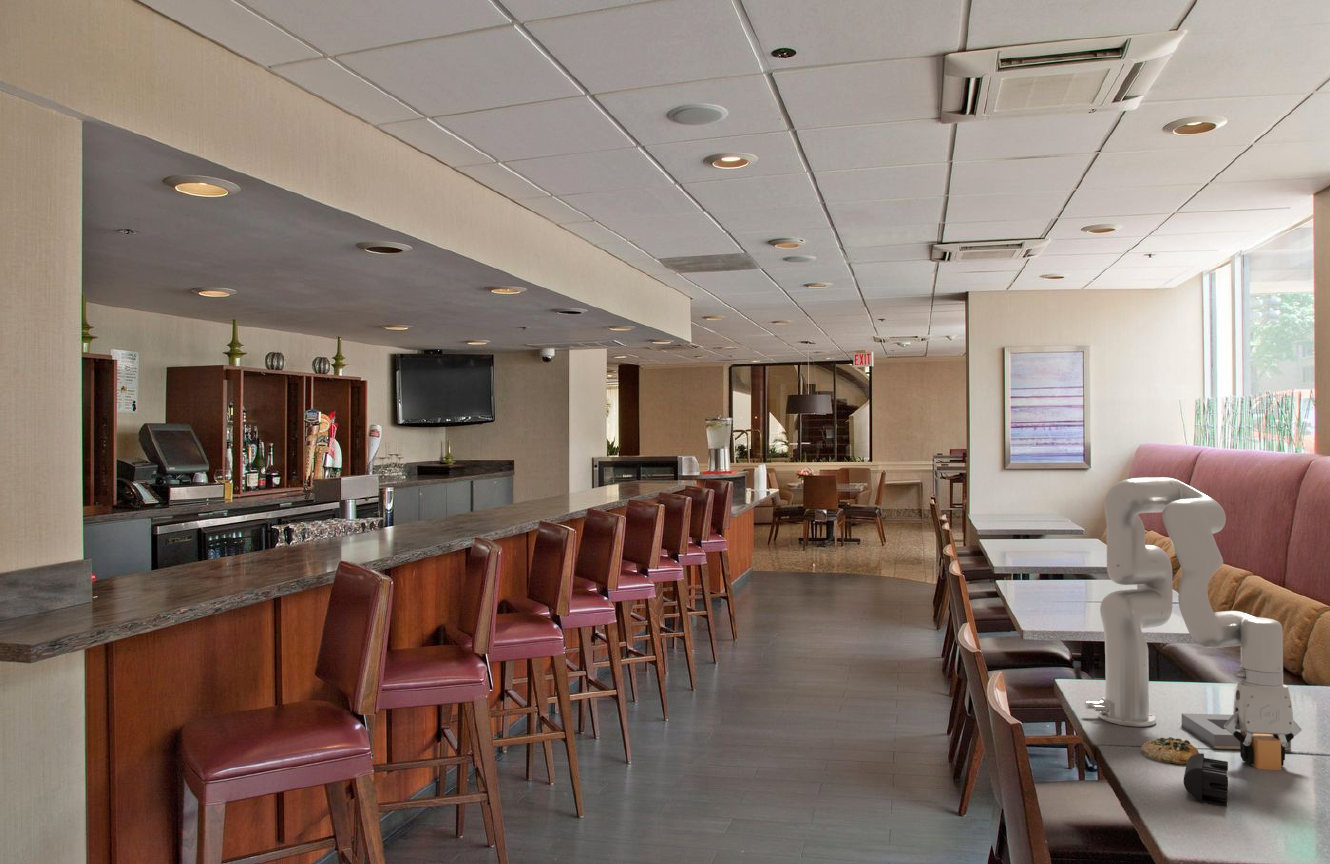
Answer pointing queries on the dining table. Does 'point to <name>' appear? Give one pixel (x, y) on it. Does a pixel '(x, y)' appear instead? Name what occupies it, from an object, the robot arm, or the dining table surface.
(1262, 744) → the plug
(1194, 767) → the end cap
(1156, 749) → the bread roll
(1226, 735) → the socket plate
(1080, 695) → the dining table surface
